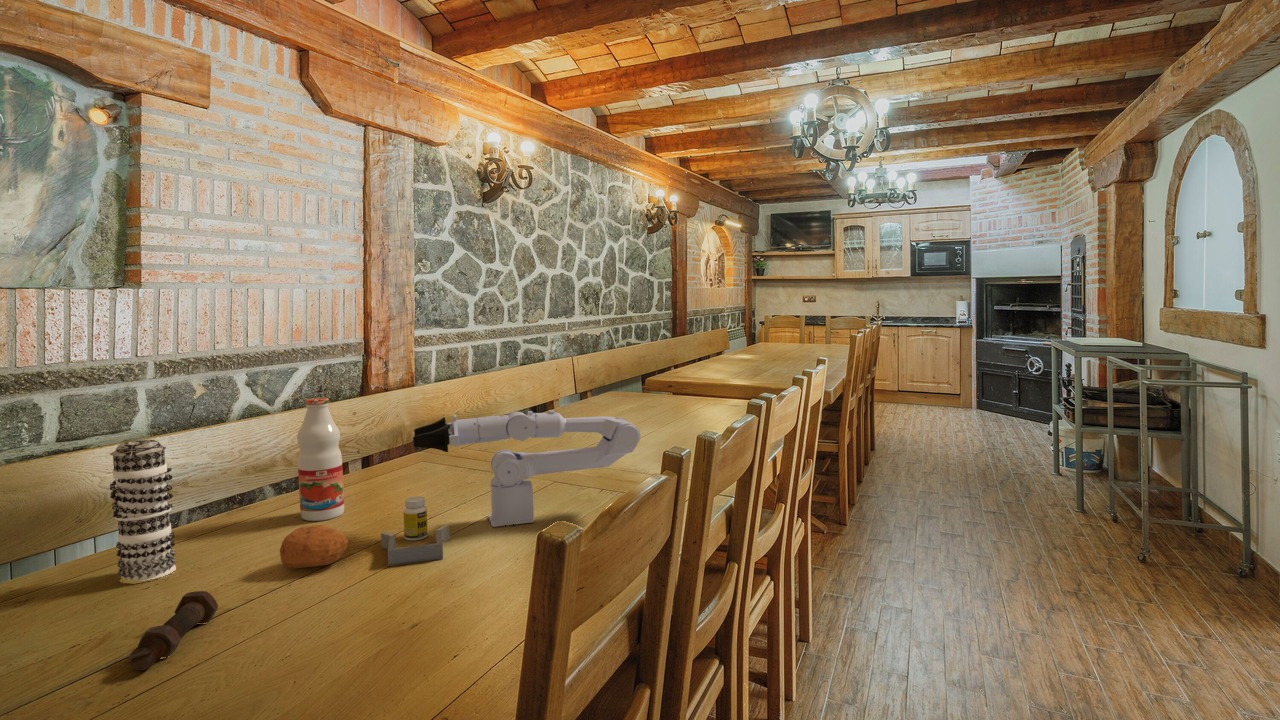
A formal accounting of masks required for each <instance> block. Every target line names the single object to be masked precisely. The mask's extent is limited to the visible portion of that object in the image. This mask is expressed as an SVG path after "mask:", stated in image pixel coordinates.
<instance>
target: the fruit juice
mask: <svg viewBox="0 0 1280 720" xmlns="http://www.w3.org/2000/svg"><path fill="white" fill-rule="evenodd" d="M329 406H330V399H329V398H328V397H313V398H312V397H311V398H307V399H305V407H306V412H305V415H304V419H303V422H302V424H301V427H300V429H299V430H298V432H297V436H296V440H297V444H298V447H299V453H298V455H297V456H298V457H297V473H298V487H299V488H298V491H299V492H298V494H299V508H300V509H299V510H300V516H301V519H302V520H305V521H307V522H320V521H326V520H327V521H328V520H331V519H335V518H337V517H340V516H341V515H343V514H344V511H345V493H344V489H345V487H344V472H343V469H344V468H343V455H342V451H341V449H340V447H339V445H340V442H341V441H340V440H341V431H340V428H339V426H337V425H336V423H335V421H334V418H333V416H332V414H331V412H330V409H329Z"/></svg>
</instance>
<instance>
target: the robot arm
mask: <svg viewBox="0 0 1280 720" xmlns="http://www.w3.org/2000/svg"><path fill="white" fill-rule="evenodd" d="M413 431H414V433H413V434H414V436H413V437H412V439H413V440H412V441H413V447H414V448H420V449H421V448H422V449H423V448H424V449H434V450H438V451H442V452H444V453H448V452H449V446H454V447H455V448H457V447H459V446H465V445H474V444H481V443H489V442H498V441H499V442H500V441H502V440H503V441H504V440H509V439H511V438H512V439H513V440H516V441H521V442H524V441H526V440H527V439H529V438H532V439H540V438H541V439H542V438H560V437H561V436H562V435H563V434H564V433H597V434H600V435H602V438H601V439H600V441H599V442H598V443H597V445H596V446H592V447H591V446H590V447H583V448H582V447H580V448H571V449H561V450H560V449H559V450H553V451H552V450H551V451H542V452H541V451H540V452H533V453H532V452H526V451H525V452H523V451H518V452H515V451H513V450H509V449H501V450H498V451H497V452H496V453H495V454H494V455H493V456H492V458H491V462H490V467H491V469H492V471H493V478H492V479H491V480H490V497H491V498H490V501H491V502H490V503H491V513H490V514H489V513H488V515H487V516H488V519H489V523H490V525H491V527H492V528H495V527H496V528H497V527H503V526H504V527H505V525H506V526H512V525H513V524H514V525H522V524H529V523H535V519H534V514H535V513H534V511H535V510H534V489H533V484H532V481H531V480H529V479H530V478H532V477H534V476H537V475H547V474H555V473H563V472H564V473H565V472H574V471H580V470H590V469H601V468H606V467H607V468H608V467H610V466H612V465H614V464H615V463H616V462H617V461H619V460H620V459H622V458H623V457H624V456H625V455H628V454H631V453H634V451H635V449H636V447H637V446H638V444H639V443H640V440H641V430H640V429H639V427H638V426H637V425H635V424H634V423H632V422H629V421H628V420H627V419H625V418H623V417H620V416H617V417H616V416H615V417H613V416H609V415H608V416H607V415H605V416H604V415H602V416H601V415H600V416H598V415H597V416H583V417H582V416H581V417H580V416H579V417H563V415H562V414H561V413H559V412H555V410H553V409H551V410H548V411H547V412H533V411H532V410H528V411H527V414H526V413H523V412H522V411H517V410H514V411H510V412H509V413H508V414H505V415H504V414H503V415H490V416H481V417H473V418H470V417H469V418H463V419H461V418H460V419H457V414H453V415H452V422H447V421H446V417H442V418H440V419H438V420H437V421H435V422H432V423H429V424H427V425H423V426H419V427H417V428H414V430H413Z"/></svg>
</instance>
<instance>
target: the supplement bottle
mask: <svg viewBox="0 0 1280 720" xmlns="http://www.w3.org/2000/svg"><path fill="white" fill-rule="evenodd" d="M404 504H405V505H404V507H405V508H404V509H403V535H404V539H405V540H406V541H421V540H423V539H426V538H427V537H428V508H427V506H426V499H425V497H424V496H419V495H418V496H410V497H408V498H406V499H404Z"/></svg>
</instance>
